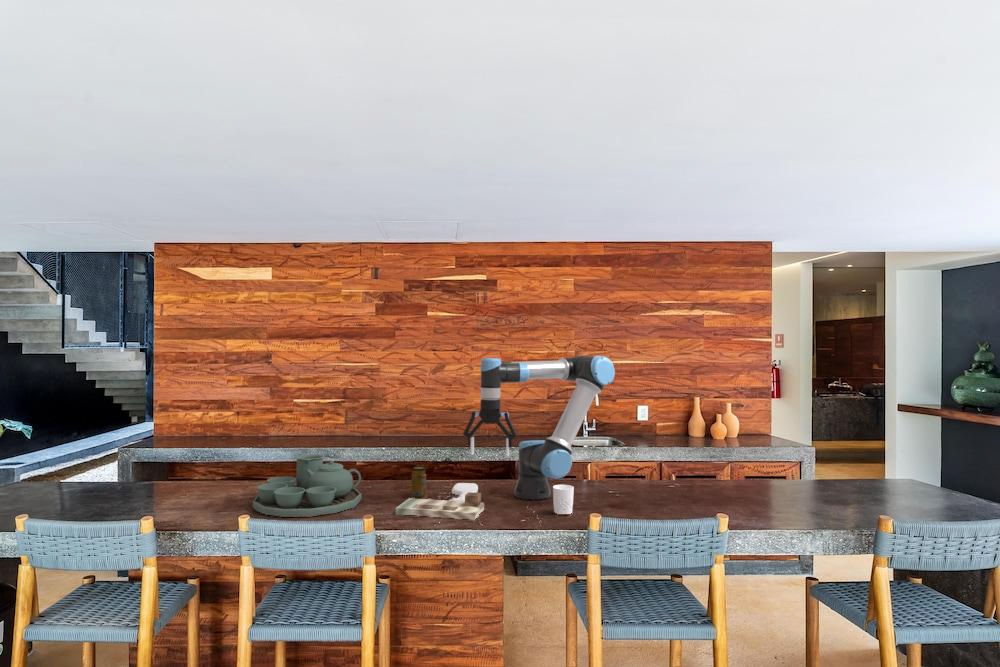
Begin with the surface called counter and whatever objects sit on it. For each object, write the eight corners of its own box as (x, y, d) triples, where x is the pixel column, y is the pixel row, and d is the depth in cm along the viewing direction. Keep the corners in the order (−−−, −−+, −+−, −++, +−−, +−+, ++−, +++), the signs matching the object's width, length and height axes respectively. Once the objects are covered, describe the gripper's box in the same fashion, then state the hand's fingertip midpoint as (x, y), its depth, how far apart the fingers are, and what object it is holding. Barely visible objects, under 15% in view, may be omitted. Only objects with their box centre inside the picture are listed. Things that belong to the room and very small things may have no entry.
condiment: (421, 494, 257) (421, 465, 258) (432, 498, 251) (432, 468, 251) (406, 496, 253) (406, 467, 253) (417, 500, 246) (417, 470, 246)
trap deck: (484, 509, 234) (484, 502, 234) (475, 520, 219) (475, 513, 219) (409, 504, 240) (409, 498, 240) (395, 514, 225) (395, 508, 225)
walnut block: (480, 503, 233) (480, 493, 233) (477, 507, 228) (477, 496, 228) (468, 502, 234) (468, 492, 234) (464, 506, 229) (464, 495, 229)
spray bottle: (479, 490, 267) (472, 505, 243) (454, 489, 268) (445, 504, 243) (479, 483, 267) (472, 498, 243) (454, 482, 268) (445, 497, 243)
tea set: (234, 505, 237) (235, 462, 238) (326, 488, 267) (327, 450, 267) (286, 526, 210) (286, 478, 211) (381, 505, 240) (382, 462, 240)
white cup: (568, 518, 224) (568, 490, 224) (548, 514, 228) (549, 487, 228) (577, 513, 231) (577, 486, 231) (558, 509, 235) (558, 483, 235)
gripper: (524, 398, 233) (523, 454, 233) (460, 397, 238) (460, 452, 237) (521, 400, 226) (521, 458, 226) (455, 398, 230) (455, 455, 230)
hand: (489, 455), depth 231 cm, fingers open, 13 cm apart
